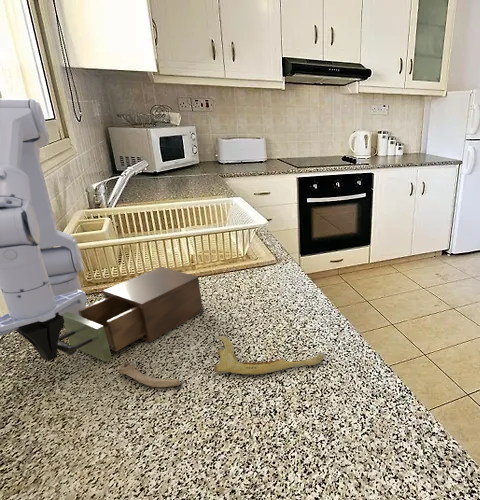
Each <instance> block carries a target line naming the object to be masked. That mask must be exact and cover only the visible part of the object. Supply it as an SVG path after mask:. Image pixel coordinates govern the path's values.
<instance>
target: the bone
mask: <svg viewBox="0 0 480 500" xmlns="http://www.w3.org/2000/svg"><path fill="white" fill-rule="evenodd" d="M117 372H119V374H120V375H126V376H128V377H130V378H131V379H134V380H135V381H138V382H139V383H141V384H144V385H145V386H148V387H152V388H168V387H179V383H180V380H179V378H176V379H166V378H165V379H164V378H163V379H162V378H157V377H156V378H155V377H152V376H150V375H148V374H147V375H146V374H144V373H142V372H140V371H138V370H137V369H136V368H135V365H134V364H131V362H126V363H123V364H121V365H120V366H119V367H118V370H117Z"/></svg>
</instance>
